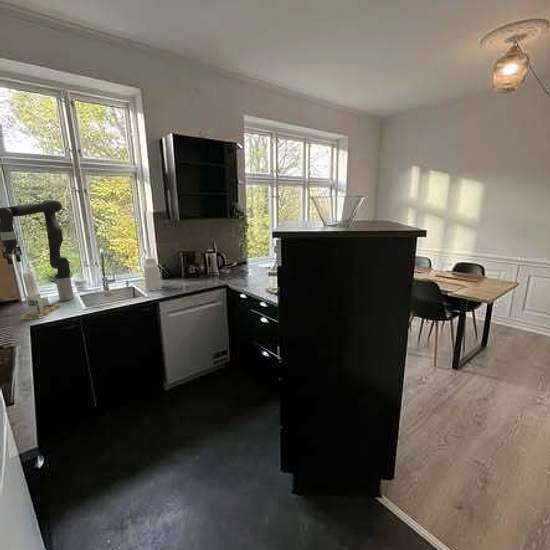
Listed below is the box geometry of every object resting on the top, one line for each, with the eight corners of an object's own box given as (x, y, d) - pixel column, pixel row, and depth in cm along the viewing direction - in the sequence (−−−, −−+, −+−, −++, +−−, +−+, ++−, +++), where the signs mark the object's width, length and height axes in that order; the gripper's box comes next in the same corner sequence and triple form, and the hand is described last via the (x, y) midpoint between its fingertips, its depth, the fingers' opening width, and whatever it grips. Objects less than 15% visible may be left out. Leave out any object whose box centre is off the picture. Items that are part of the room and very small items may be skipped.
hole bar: (42, 308, 216) (41, 304, 216) (60, 306, 218) (60, 303, 217) (21, 319, 194) (20, 316, 194) (42, 318, 196) (41, 314, 195)
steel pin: (45, 309, 213) (42, 297, 211) (51, 309, 213) (48, 296, 211) (42, 311, 209) (39, 298, 207) (48, 310, 210) (45, 298, 208)
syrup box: (30, 317, 198) (25, 296, 194) (34, 314, 203) (30, 293, 200) (40, 316, 199) (35, 295, 196) (44, 313, 205) (40, 293, 201)
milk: (146, 291, 250) (142, 260, 244) (146, 288, 260) (142, 258, 254) (161, 289, 254) (158, 259, 248) (161, 286, 265) (157, 256, 259)
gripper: (10, 237, 205) (15, 261, 209) (-6, 240, 192) (0, 265, 196) (22, 237, 207) (27, 260, 210) (8, 239, 193) (13, 264, 197)
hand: (14, 263), depth 203 cm, fingers open, 8 cm apart
